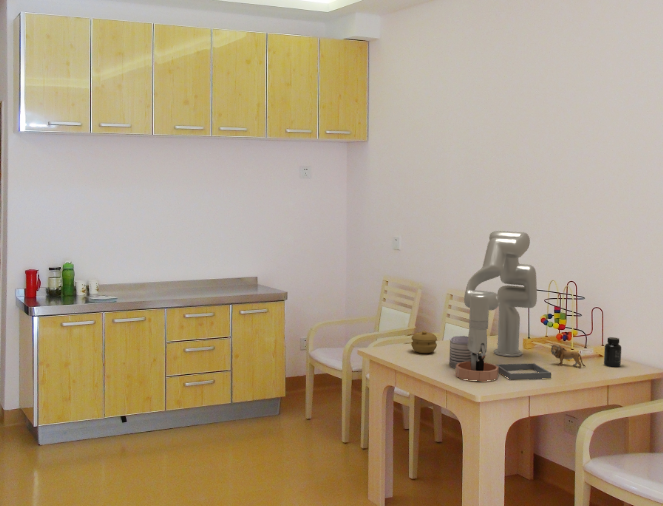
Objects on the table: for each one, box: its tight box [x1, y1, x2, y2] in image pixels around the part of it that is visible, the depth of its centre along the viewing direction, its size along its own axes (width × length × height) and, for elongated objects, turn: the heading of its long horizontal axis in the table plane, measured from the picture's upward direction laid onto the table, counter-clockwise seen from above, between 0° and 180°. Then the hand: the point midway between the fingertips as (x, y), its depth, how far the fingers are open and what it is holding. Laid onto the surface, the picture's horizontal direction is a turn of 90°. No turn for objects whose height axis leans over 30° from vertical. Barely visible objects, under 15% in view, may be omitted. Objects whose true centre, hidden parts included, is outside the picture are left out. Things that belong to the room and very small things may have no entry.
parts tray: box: [494, 362, 552, 380], centre depth 307 cm, size 16×18×2 cm
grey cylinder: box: [471, 354, 480, 371], centre depth 302 cm, size 5×5×6 cm
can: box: [448, 335, 471, 369], centre depth 319 cm, size 11×11×12 cm
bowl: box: [455, 361, 500, 381], centre depth 303 cm, size 17×17×4 cm
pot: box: [410, 330, 438, 354], centre depth 344 cm, size 12×12×10 cm
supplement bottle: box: [603, 336, 622, 368], centre depth 324 cm, size 7×7×12 cm
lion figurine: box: [550, 343, 586, 369], centre depth 323 cm, size 15×5×9 cm, turn 69°
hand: (477, 368), depth 303 cm, fingers closed on grey cylinder, 5 cm apart
